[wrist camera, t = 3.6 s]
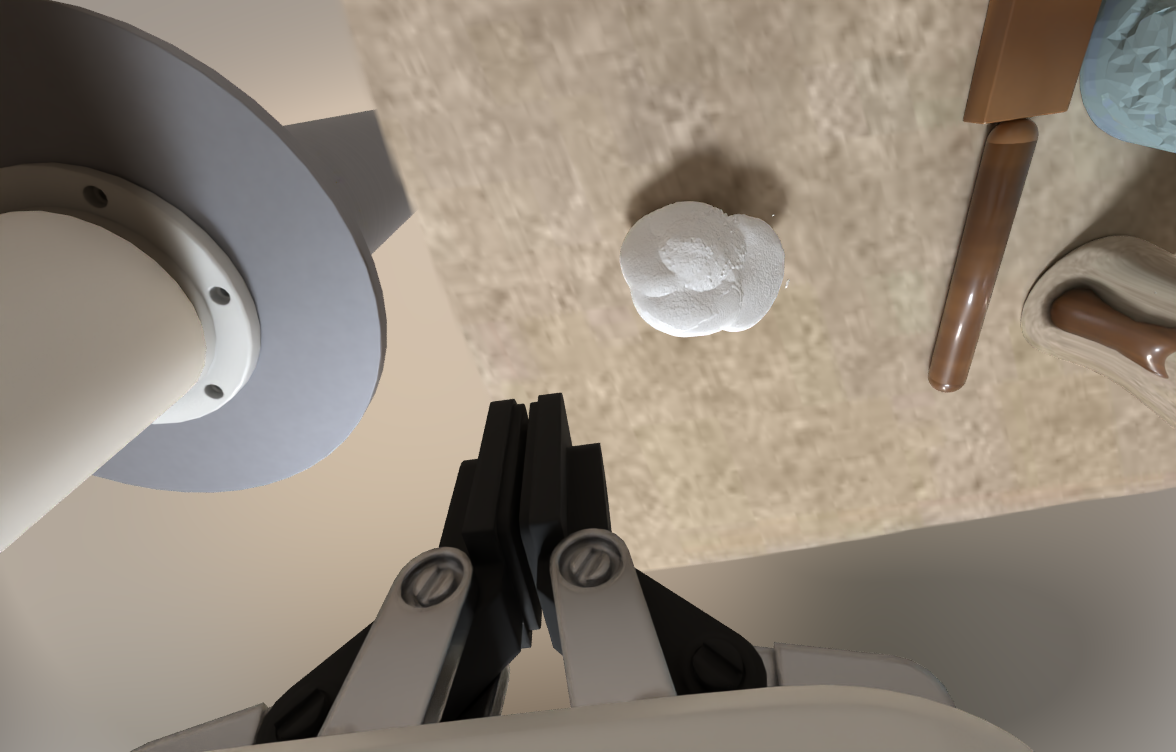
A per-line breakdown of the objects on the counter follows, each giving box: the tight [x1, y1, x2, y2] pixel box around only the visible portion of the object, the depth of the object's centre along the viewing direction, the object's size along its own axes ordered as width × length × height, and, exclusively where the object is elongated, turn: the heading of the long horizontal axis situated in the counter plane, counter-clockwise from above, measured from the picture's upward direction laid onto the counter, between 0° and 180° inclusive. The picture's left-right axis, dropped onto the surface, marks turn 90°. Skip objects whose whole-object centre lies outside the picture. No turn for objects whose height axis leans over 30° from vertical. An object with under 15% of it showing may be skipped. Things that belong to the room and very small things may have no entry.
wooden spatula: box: [928, 0, 1102, 392], centre depth 22 cm, size 17×3×2 cm, turn 8°
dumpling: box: [620, 201, 790, 337], centre depth 21 cm, size 7×5×4 cm
